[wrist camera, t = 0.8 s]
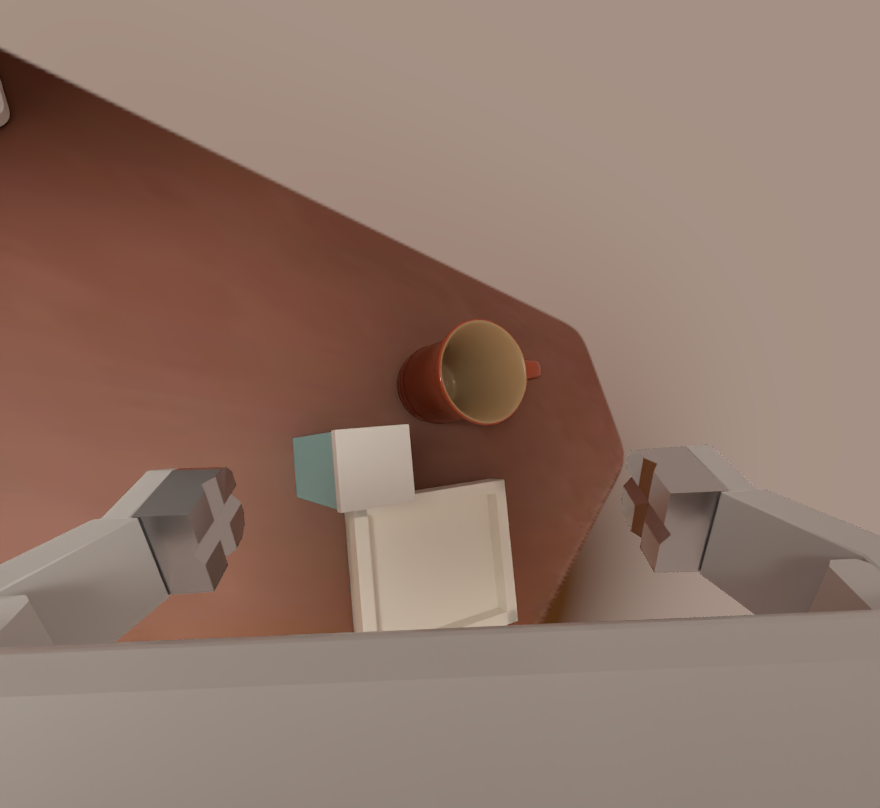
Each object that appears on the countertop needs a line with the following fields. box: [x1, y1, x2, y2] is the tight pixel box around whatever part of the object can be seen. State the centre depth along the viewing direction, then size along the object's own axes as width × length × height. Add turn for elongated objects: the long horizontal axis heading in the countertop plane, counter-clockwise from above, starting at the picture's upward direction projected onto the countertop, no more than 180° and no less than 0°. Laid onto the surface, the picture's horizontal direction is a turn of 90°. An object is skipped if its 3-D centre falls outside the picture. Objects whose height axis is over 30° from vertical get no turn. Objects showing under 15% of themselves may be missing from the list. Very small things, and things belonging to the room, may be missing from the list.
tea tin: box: [293, 424, 416, 513], centre depth 36 cm, size 5×5×12 cm
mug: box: [397, 319, 542, 425], centre depth 44 cm, size 12×9×10 cm
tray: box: [345, 479, 518, 632], centre depth 45 cm, size 14×16×2 cm
